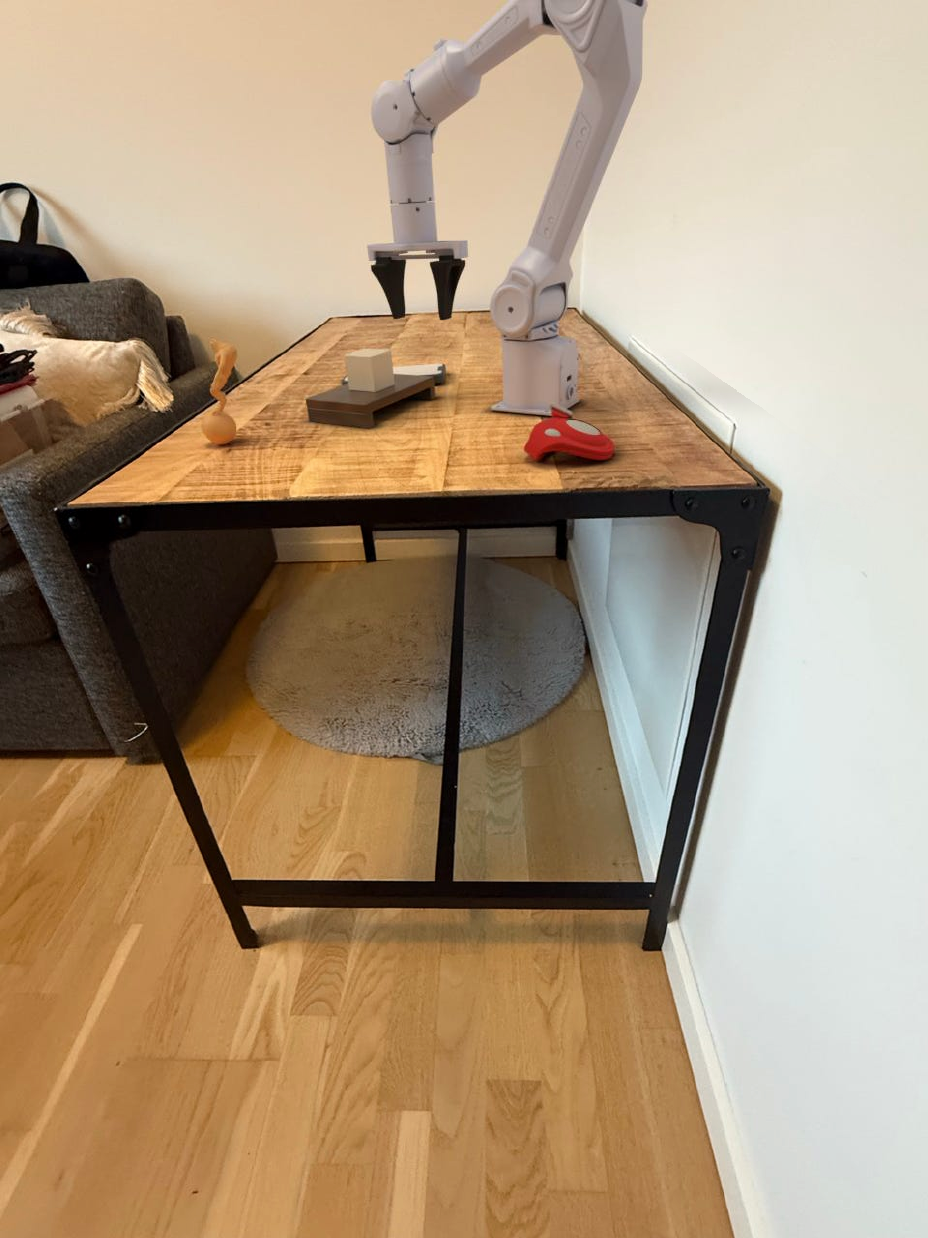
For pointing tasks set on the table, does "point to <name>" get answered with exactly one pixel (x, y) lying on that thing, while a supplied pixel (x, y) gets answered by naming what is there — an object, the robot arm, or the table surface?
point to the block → (369, 370)
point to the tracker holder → (568, 437)
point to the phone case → (419, 371)
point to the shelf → (365, 401)
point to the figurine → (220, 396)
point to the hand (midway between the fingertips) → (422, 318)
